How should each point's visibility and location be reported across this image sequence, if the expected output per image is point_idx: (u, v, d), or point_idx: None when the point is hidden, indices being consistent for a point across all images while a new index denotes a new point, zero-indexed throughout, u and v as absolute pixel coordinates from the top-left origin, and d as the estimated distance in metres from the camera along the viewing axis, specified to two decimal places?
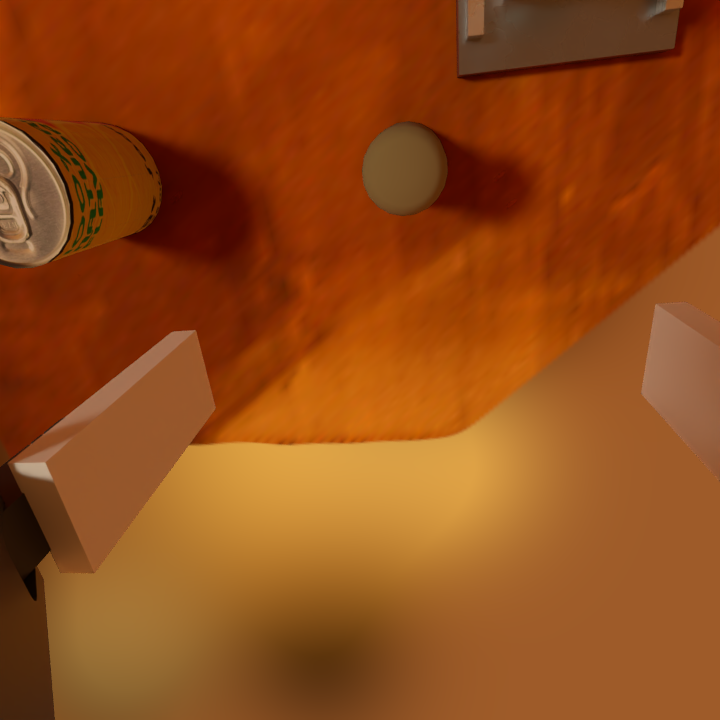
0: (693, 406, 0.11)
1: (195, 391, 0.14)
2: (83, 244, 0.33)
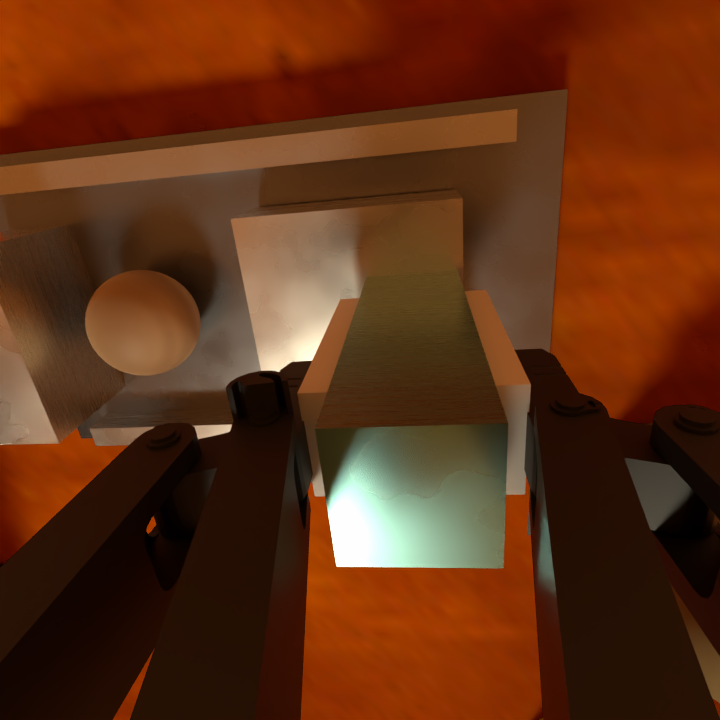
0: None
1: None
2: None
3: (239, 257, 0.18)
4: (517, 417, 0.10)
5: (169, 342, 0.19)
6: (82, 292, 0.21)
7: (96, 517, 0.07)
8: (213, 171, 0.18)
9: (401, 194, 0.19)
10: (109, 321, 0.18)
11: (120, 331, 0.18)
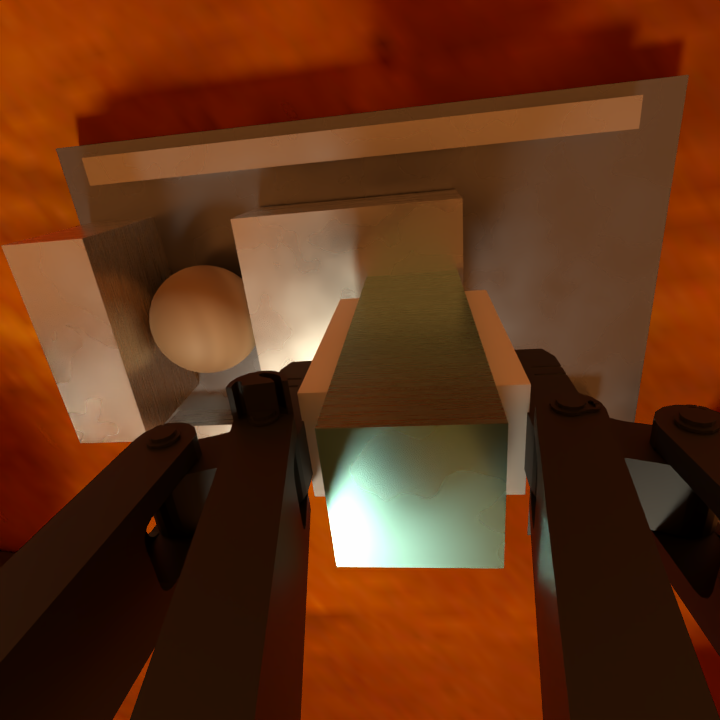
0: None
1: None
2: None
3: (239, 257, 0.18)
4: (517, 417, 0.10)
5: (206, 346, 0.18)
6: None
7: (96, 517, 0.07)
8: (316, 160, 0.17)
9: (401, 194, 0.19)
10: (157, 316, 0.18)
11: (162, 327, 0.18)
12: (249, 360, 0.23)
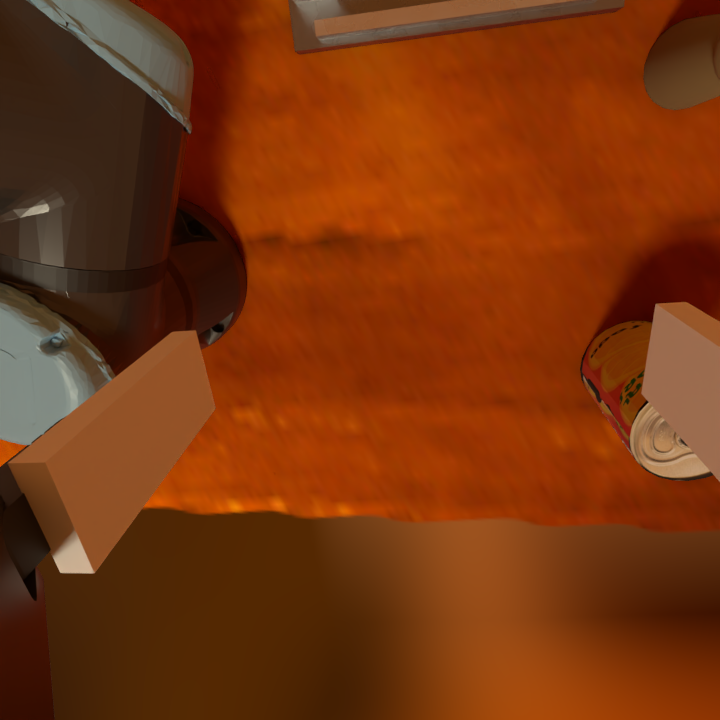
0: (692, 406, 0.11)
1: (195, 391, 0.14)
2: None
3: None
4: None
5: None
6: None
7: None
8: None
9: None
10: None
11: None
12: None
